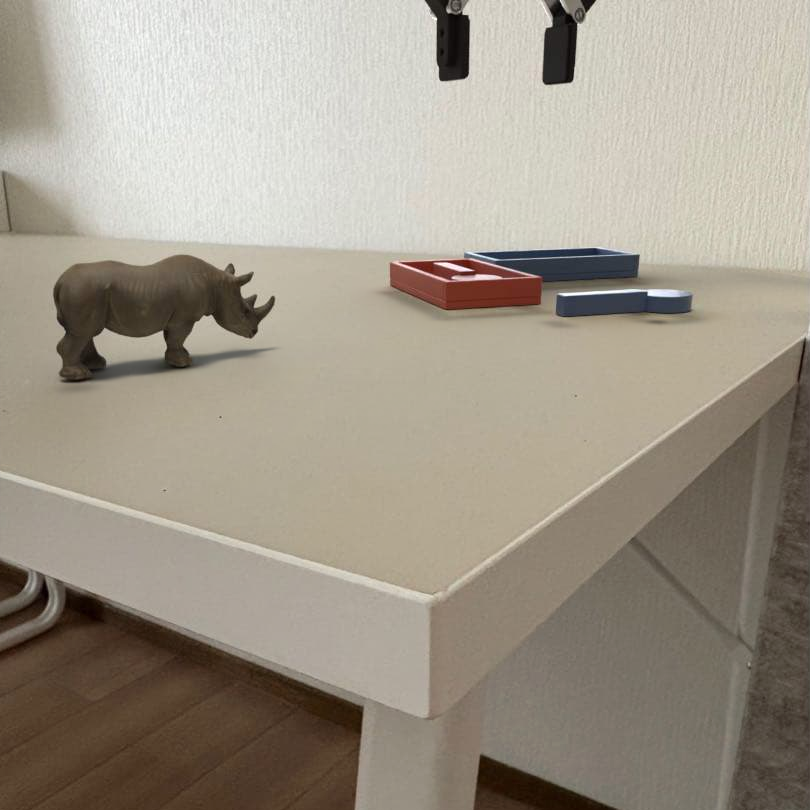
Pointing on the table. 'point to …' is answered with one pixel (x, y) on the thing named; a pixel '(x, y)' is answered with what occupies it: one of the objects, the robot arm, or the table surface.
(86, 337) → the rhino figurine
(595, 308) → the blue spoon
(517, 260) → the blue tray
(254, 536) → the table surface
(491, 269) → the red tray
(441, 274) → the red spoon
